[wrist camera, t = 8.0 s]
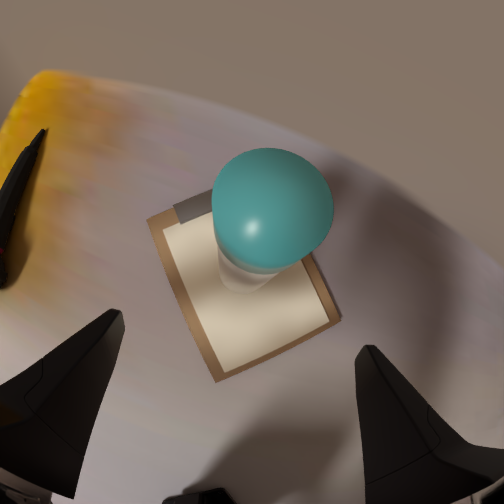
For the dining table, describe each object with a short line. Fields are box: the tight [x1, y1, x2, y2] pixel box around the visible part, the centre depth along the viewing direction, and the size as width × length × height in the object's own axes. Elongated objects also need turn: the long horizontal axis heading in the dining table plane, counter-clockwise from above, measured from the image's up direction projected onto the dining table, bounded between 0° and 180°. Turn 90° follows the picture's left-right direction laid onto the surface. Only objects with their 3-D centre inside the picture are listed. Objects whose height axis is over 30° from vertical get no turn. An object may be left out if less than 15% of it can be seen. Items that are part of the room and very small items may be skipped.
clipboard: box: [146, 189, 341, 383], centre depth 21 cm, size 14×11×1 cm
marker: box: [212, 148, 334, 294], centre depth 14 cm, size 4×4×13 cm
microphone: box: [0, 129, 45, 288], centre depth 19 cm, size 6×6×20 cm
